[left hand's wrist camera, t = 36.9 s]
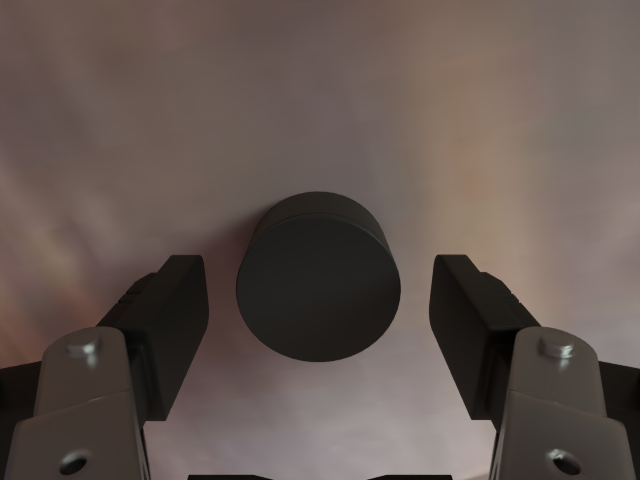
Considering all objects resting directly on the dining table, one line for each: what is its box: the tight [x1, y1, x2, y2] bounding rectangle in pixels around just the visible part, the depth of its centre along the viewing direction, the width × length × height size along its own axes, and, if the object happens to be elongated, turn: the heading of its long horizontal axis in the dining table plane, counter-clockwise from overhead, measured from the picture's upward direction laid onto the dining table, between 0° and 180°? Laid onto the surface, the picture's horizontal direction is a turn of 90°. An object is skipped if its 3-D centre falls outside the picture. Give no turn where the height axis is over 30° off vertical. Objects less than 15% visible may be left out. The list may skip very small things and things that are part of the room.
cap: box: [236, 192, 401, 362], centre depth 12 cm, size 4×4×2 cm
